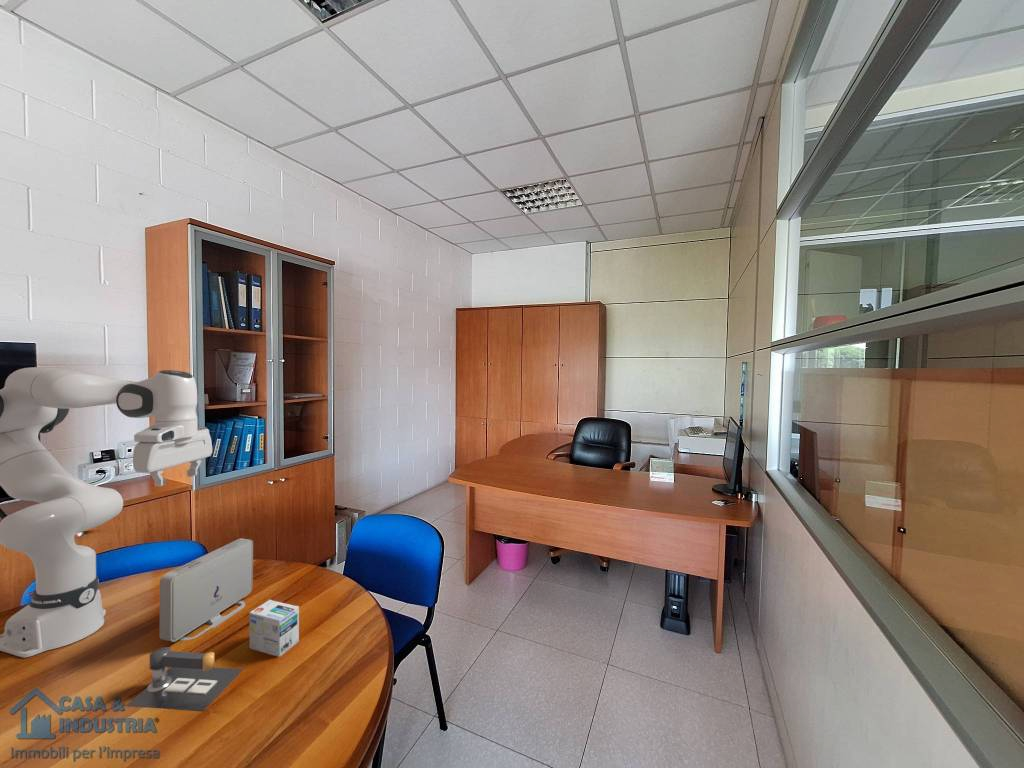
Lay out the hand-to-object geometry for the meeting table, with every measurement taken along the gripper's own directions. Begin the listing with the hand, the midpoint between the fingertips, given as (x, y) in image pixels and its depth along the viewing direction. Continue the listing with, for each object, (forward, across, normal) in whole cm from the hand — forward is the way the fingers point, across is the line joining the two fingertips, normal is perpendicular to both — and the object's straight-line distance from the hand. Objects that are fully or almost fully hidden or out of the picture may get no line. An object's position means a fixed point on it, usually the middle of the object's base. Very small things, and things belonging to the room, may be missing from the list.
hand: (176, 480), depth 105 cm
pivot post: (+45, +14, +9) cm, 48 cm away
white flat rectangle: (+45, +14, +19) cm, 51 cm away
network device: (+46, -10, +1) cm, 47 cm away
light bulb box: (+46, -1, +27) cm, 53 cm away
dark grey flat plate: (+46, +14, +16) cm, 50 cm away
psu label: (+45, +14, +14) cm, 49 cm away
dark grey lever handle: (+40, +14, +15) cm, 45 cm away
